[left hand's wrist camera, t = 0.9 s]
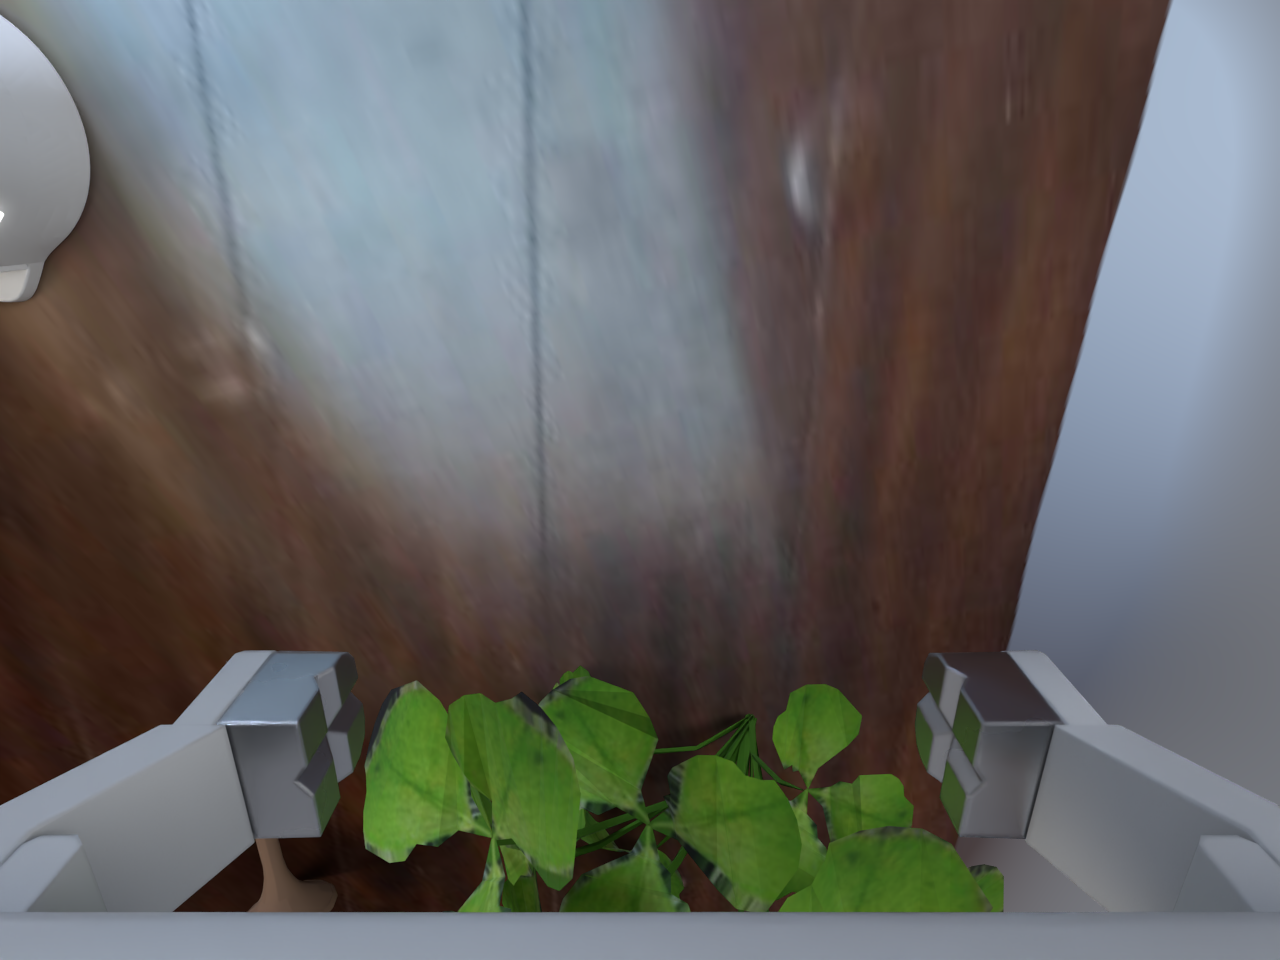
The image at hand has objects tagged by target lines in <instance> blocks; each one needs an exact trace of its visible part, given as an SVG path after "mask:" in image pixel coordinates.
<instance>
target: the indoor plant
mask: <svg viewBox="0 0 1280 960" xmlns="http://www.w3.org/2000/svg"><path fill="white" fill-rule="evenodd" d="M752 715H753V714H751V715H750V714H748V715H746V716H745V718H744V719H742V720H741V721H739V722H737V723H735V724H734V725H732V726H730V727H728V728H727V729H725V730H723V731H721V732H720V733H718V734H716V735H715V736H713V737H711V738H709V739H708V740H706V741H704V742H702V743H701V744H699V745H697V746H688V747H676V748H664V749H655V748H656V745H657V742H658V737H657V735H656V732H655V730H654V727H653V725H652V722H651V720H650V718H649V716H648V715H647V713H646V711H645V710H644V708H643V707H642V705H641V704H640V702H639V701H638V699H637V698H636V696H635V695H634V693H633V692H630V691H628V690H625V689H622V688H619V687H617V686H614V685H611V684H609V683H606V682H603V681H600V680H598V679H595V678H592V677H591V676H590V674H589V672H588V671H587V670H586V669H584V668H583V667H582V666H579V667H578V668H577V669H576V670H575V671H574V672H573V673H572V672H570V671H567V672H566V673H564V674H563V676H562V677H561V679H560V685H559V684H558V683H557V682H556V684H555V686H554V688H553V689H552V691H551V692H550V693H549V694H548V695H547V696H546V697H545V698H544V699H543V700H542V701H541V702H540V703H539V705H537V704H536V703H535V702H534V701H532V700H531V699H530V698H529V697H527V696H526V695H525V694H524V693H523V692H521V693H519V694H518V695H516V696H515V697H514V698H512V699H509V700H505V701H501V702H497V703H495V702H493V701H492V700H490V699H488V698H487V697H485V696H484V695H482V694H481V693H478V694H471V695H464V696H462V697H461V698H459V699H458V700H456V701H455V702H453V703H452V704H450V705H449V710H448V714H447V712H446V711H445V709H444V707H443V706H442V704H441V702H440V701H439V700H438V699H437V698H436V697H435V696H434V695H432V694H431V693H430V692H429V691H428V690H427V689H426V688H425V687H424V686H423V685H421V684H420V683H419V682H418V681H414V682H412V683H409V684H406V685H403V686H401V687H398V688H395V689H392V690H391V691H390V693H389V694H388V696H387V698H386V699H385V701H384V702H383V704H382V706H381V709H380V712H379V714H378V717H377V720H376V722H375V725H374V729H373V732H372V736H371V739H370V743H369V747H368V752H367V757H366V762H365V771H366V787H367V793H366V799H365V805H364V811H363V832H364V840H365V847H366V849H367V850H369V851H370V852H372V853H374V854H375V855H377V856H379V857H380V858H382V859H384V860H386V861H387V862H389V863H392V862H400V861H405V860H406V858H407V857H408V855H409V854H410V853H411V851H412V850H413V848H414V847H415V845H416V844H422V845H429V846H436V847H438V846H439V845H441V844H442V843H443V842H444V841H446V840H447V839H448V838H449V837H451V836H452V835H453V834H454V833H456V832H457V831H458V830H460V831H464V832H469V833H473V834H477V835H481V836H486V837H490V838H491V837H492V838H491V843H490V848H489V852H488V857H487V862H486V866H485V871H484V876H483V880H482V882H481V883H480V885H479V886H478V887H477V888H476V890H475V891H474V892H473V893H472V895H471V896H470V897H469V898H468V900H467V901H466V902H465V903H464V905H463V906H462V907H461V908H460V910H459V911H458V912H542V910H541V905H540V900H539V895H538V887H537V878H536V871H537V872H538V873H539V875H540V876H541V877H542V879H543V880H544V882H545V883H546V885H547V886H548V887H551V888H553V889H556V890H559V891H560V890H561V889H562V888H563V887H564V886H565V885H566V884H567V883H568V882H569V881H570V880H571V879H572V878H573V868H574V858H575V857H577V856H580V855H583V854H586V853H589V852H592V851H594V850H597V849H600V848H602V849H607V850H612V851H617V852H622V851H625V852H629V854H627V855H625V856H622V857H620V858H618V859H616V860H613V861H611V862H609V863H607V864H604V865H602V866H600V867H598V868H595V869H593V870H591V871H589V872H586V873H584V874H582V875H581V876H580V878H579V879H578V880H577V881H576V883H575V884H574V885H573V887H572V888H571V889H570V891H569V892H568V893H567V894H566V896H565V897H564V898H563V900H562V904H561V907H560V911H559V912H690V909H689V906H688V904H687V903H685V902H683V901H682V900H680V897H679V894H680V892H681V891H682V890H683V889H684V886H683V882H682V879H681V875H680V874H679V872H678V870H677V868H678V867H679V865H680V864H681V863H682V861H683V859H684V857H685V856H686V854H687V852H688V854H689V855H690V856H691V857H692V859H693V860H694V861H695V862H696V864H697V865H698V866H699V867H700V869H701V870H702V871H703V872H704V874H705V875H706V876H707V877H708V879H709V880H710V881H711V882H712V884H713V885H714V886H715V887H716V889H717V890H718V891H719V892H720V893H721V894H722V895H723V896H724V897H725V898H726V899H727V900H728V901H729V902H730V903H731V904H732V905H733V906H734V907H735V908H736V909H738V912H744V910H745V911H750V912H769V910H768V909H769V908H770V906H771V905H772V904H773V902H774V901H775V900H778V899H780V898H782V897H783V896H785V895H787V894H789V893H791V892H797V893H796V894H794V895H792V896H790V897H789V898H787V900H786V901H785V903H784V904H783V906H782V907H781V909H780V910H779V912H1003V888H1004V876H1003V875H1002V874H1001V872H1000V871H999V870H998V869H997V867H994V866H989V865H985V864H984V865H977V866H972V867H969V868H967V867H966V866H965V864H964V863H963V861H962V860H961V858H960V857H959V855H958V854H957V852H956V850H955V849H954V847H953V846H952V844H951V843H949V842H947V841H945V840H943V839H941V838H939V837H937V836H935V835H933V834H931V833H930V832H928V831H926V830H924V829H919V828H911V826H912V818H913V807H914V806H913V805H912V804H911V803H910V802H909V801H908V800H907V799H906V798H905V797H904V786H903V785H902V783H901V782H900V780H899V779H898V778H896V777H895V776H893V775H892V774H882V775H860V776H859V777H858V778H857V779H856V780H855V781H854V782H853V783H852V784H850V783H845V782H840V781H839V782H838V783H836V784H835V785H833V786H831V787H825V788H814V789H808V788H809V786H810V784H811V782H812V780H813V778H814V775H815V773H816V771H817V769H818V768H819V767H820V766H822V765H823V764H824V763H825V762H827V761H828V760H829V759H831V758H832V757H833V756H835V755H836V754H837V753H839V752H840V751H841V750H842V749H844V748H845V747H846V746H848V745H849V743H850V742H851V741H852V740H853V739H854V738H855V737H856V736H857V735H858V734H859V729H860V723H861V718H862V716H861V714H860V713H859V712H858V711H857V710H856V709H855V708H854V707H853V706H852V704H851V703H850V702H849V701H848V700H847V699H846V698H845V697H844V695H843V694H842V693H841V692H840V691H839V690H838V689H836V688H833V687H831V686H828V685H826V684H814V685H805V686H803V687H801V688H799V689H797V690H795V691H793V692H791V693H790V696H789V700H788V705H787V709H786V711H785V712H783V713H782V714H781V715H779V716H778V718H777V720H776V722H775V725H774V727H773V739H772V740H773V742H774V745H775V747H776V750H777V752H778V755H779V757H780V760H781V762H782V765H783V767H784V769H786V768H788V767H790V766H791V765H792V768H793V771H798V770H799V772H800V774H801V776H802V778H803V780H804V782H805V784H806V786H807V789H806V790H805V791H804V790H803V792H802V793H801V794H799V795H798V796H797V797H796V798H794V799H793V800H792V801H788V799H787V797H786V796H785V794H784V793H783V792H782V790H781V789H780V787H779V786H778V784H777V783H776V782H775V780H776V781H777V782H778V783H779V784H781V785H784V786H788V787H791V788H795V789H799V790H802V789H800V788H798V787H796V786H794V785H792V784H790V783H788V782H786V781H783V780H781V779H780V778H779V777H778V776H777V775H776V774H775V773H774V772H773V771H772V770H771V769H770V768H769V767H768V766H767V765H766V764H765V763H764V762H763V761H762V760H761V759H760V758H759V754H758V748H757V742H756V732H755V725H756V720H757V718H755V717H754V715H753V716H752ZM738 727H739V728H738ZM736 728H738V729H737V730H736V732H735V733H734V734H733V736H732V737H731V738H730V739H729V740H728V742H727V743H726V744H725V745H724V746H723V747H722V748H721V749H720V750H719V752H718V753H717V754H716V755H697V756H695V757H693V758H691V759H689V760H687V761H685V762H683V763H681V764H679V765H677V766H675V767H673V768H672V769H671V771H670V772H669V774H668V776H667V777H668V782H669V788H670V793H671V794H669V795H667V796H664V799H665V801H663V802H660V803H657V804H654V805H651V806H648V807H645V803H644V800H643V796H642V793H641V788H642V785H643V783H644V780H645V777H646V774H647V771H648V768H649V765H650V762H651V759H652V756H653V754H660V753H671V752H682V751H693V750H698V749H700V748H702V747H704V746H706V745H708V744H709V743H711V742H713V741H715V740H716V739H718V738H720V737H722V736H724V735H725V734H727V733H729V732H731V731H733V730H734V729H736ZM749 760H750V777H749V776H748V771H749ZM736 761H737V764H736ZM761 767H762V768H763V769H764V770H765V771H766V772H767V773H768V774H769V775H770V776H771V777H772V778H773V779H774V780H763V778H762V772H761ZM753 770H754V778H753ZM758 771H759V772H758ZM808 792H809V793H810V794H811V795H812V796H813V797H814V798H815V799H816V800H817V801H818V802H819V803H820V804H821V805H822V806H823V810H824V814H825V819H826V823H827V828H828V832H829V837H830V841H831V842H830V843H829V846H828V850H826V847H825V846H824V845H823V844H822V843H821V841H820V840H819V839H818V838H817V825H816V824H815V823H814V822H813V821H812V819H811V818H810V817H809V816H808V815H807V800H808ZM490 800H491V801H492V802H491V801H490ZM615 807H618V808H619V809H621V810H623V811H624V812H626V813H627V814H624V815H621V816H618V817H615V818H612V819H609V820H606V821H603V822H600V823H599V822H597V821H595V820H594V819H593V817H592V816H591V815H590V814H589V812H588V811H590V812H592V813H594V814H597V815H599V814H602V813H604V812H606V811H608V810H610V809H613V808H615ZM667 808H668V809H667ZM666 809H667V810H666ZM586 810H587V811H586ZM664 810H665V811H664ZM662 811H664V812H663V813H661V812H662ZM648 813H649V814H648ZM659 813H661V814H660V815H659V816H657V817H656V818H655V819H654V820H652V821H651V822H650V821H649V819H651V818H652V817H654V816H656V815H657V814H659ZM635 818H636V819H638V820H636V821H634V822H633V823H631V824H629V825H627V826H625V827H624V828H622V829H620V830H618V831H616V832H615V833H613V834H611V835H609V834H608V833H607V831H606V830H605V829H607V828H610V827H613V826H615V825H618V824H621V823H624V822H626V821H629V820H632V819H635ZM642 823H645V824H647V825H646V827H645V828H644V830H643V832H642V834H641V835H640V837H639V839H638V841H637V842H636V844H635V846H634V848H633V849H632V850H631V851H629V850H625V849H619V848H618V847H617V845H616V844H615V843H614V840H616V839H617V838H619V837H621V836H622V835H624V834H626V833H627V832H629V831H631V830H632V829H634V828H636V827H637V826H639V825H641V824H642ZM653 829H654V830H656V831H658V832H661V833H663V834H665V835H667V836H666V837H665V838H664V839H663V840H662V841H661V842H660V843H659V844H658V845H657V846H656V841H655V837H654V833H653ZM671 837H672V838H674V839H676V840H678V841H679V843H680V844H681V845H682V847H681V849H680V850H679V852H678V854H677V855H676V857H675V859H674V860H673V861H671V860H670V859H669V858H668V857H667V856H666V855H665V854H664V853H662V852H661V851H659V850H658V849H657V848H658V847H660V846H661V845H662V844H663V843H664V842H666V841H667V840H668V839H669V838H671ZM580 838H581V839H582V840H584V841H585V842H587V843H588V844H589V845H585V846H582V847H579V848H576V842H577V841H578V840H579V839H580ZM496 840H497V841H496ZM498 846H500V849H501V852H502V854H503V857H504V862H505V866H506V871H507V876H508V880H507V881H505V874H504V869H503V865H502V861H501V857H500V853H499V849H498ZM575 848H576V849H575ZM533 868H534V869H533ZM532 872H533V877H531V876H532ZM504 881H505V882H504ZM502 891H503V898H502V904H503V906H504V907H502V906H499V904H500V900H501V895H502ZM443 912H453V911H443Z"/></svg>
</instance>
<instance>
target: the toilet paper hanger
mask: <svg viewBox="0 0 1280 960" xmlns="http://www.w3.org/2000/svg"><path fill="white" fill-rule="evenodd" d="M256 843H257V847H258V851H259V854H260V858H261V862H262V866H263V872H264V884H263V891H262V895H261V898H260V900H259V901H258V902H257V903H256V904H254V905H253V906H252V907H251V908H250V909H249V910H248V911H247V912H330V910H331V909H332V908H333V906H334V904H335V901H336V898H337V892H336V890H335V887H334V885H333V884H330V883H328V882H326V881H324V880H305V881H301V880H298V879H297V878H296V877H295V876H293V874H292V873H291V872H290V870H289V869H288V868H287V866H286V863H285V861H284V859H283V855H282V852H281V848H280V844H279V840H278V838H264V839H256Z"/></svg>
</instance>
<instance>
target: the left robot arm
mask: <svg viewBox="0 0 1280 960" xmlns="http://www.w3.org/2000/svg"><path fill="white" fill-rule="evenodd" d="M89 185H90V155H89V148H88V142H87V138H86V134H85V130H84V126H83V123H82V120H81V117H80V115H79V112H78V110H77V107H76V105H75V103H74V101H73V99H72V96H71V94H70V93H69V91H68V89H67V87H66V85H65V84H64V82H63V80H62V79H61V77H60V76H59V74H58V73H57V71H56V70H55V68H54V67H53V66H52V64H51V63H50V62H49V60H48V59H47V58H46V57H45V55H44V54H43V53H42V52H41V51H40V50H39V49H38V47H37V46H36V45H35V44H34V43H33V42H32V41H31V40H30V39H29V38H28V37H27V36H26V35H25V34H23V33H22V32H21V31H20V30H19V29H18V28H17V27H15V26H14V25H13V24H12V23H11V22H9V21H8V20H6V19H5V18H4V17H2V16H1V15H0V301H1V302H21V301H26V300H28V299H30V298H31V297H32V296H33V294H34V293H35V291H36V289H37V286H38V284H39V281H40V277H41V274H42V270H43V266H44V262H45V260H46V259H47V257H48V256H49V255H50V253H51V252H52V251H53V250H54V249H55V248H56V247H57V246H58V245H59V244H60V243H61V242H62V241H63V240H64V239H65V238H66V237H67V236H68V235H69V234H70V233H71V231H72V230H73V229H74V227H75V226H76V224H77V222H78V220H79V219H80V216H81V214H82V212H83V210H84V207H85V204H86V200H87V196H88V191H89ZM357 679H358V675H357V670H356V665H355V660H354V657H352V656H351V655H350V654H349V653H348V652H317V651H278V652H277V651H242V652H239V653H236V654H234V655H233V656H232V658H231V659H230V660H229V661H228V662H227V663H226V664H225V666H224V667H223V668H222V669H221V670H220V671H219V672H218V674H217V675H216V676H215V677H214V678H213V679H212V680H211V682H210V683H209V684H208V685H207V686H206V687H205V688H204V689H203V691H202V692H201V693H200V694H199V695H198V696H197V697H196V699H195V700H194V701H193V702H192V703H191V704H190V705H189V707H188V708H187V709H186V710H185V711H184V712H183V713H182V714H181V716H180V717H179V718H178V719H177V720H176V721H175V722H174V724H173V725H160V726H158V727H156V728H154V729H152V730H150V731H148V732H146V733H144V734H142V735H140V736H138V737H136V738H134V739H132V740H130V741H128V742H126V743H124V744H122V745H120V746H118V747H116V748H114V749H112V750H110V751H108V752H106V753H104V754H102V755H100V756H98V757H96V758H94V759H92V760H90V761H88V762H86V763H84V764H82V765H80V766H78V767H76V768H74V769H72V770H70V771H68V772H66V773H64V774H62V775H60V776H58V777H56V778H54V779H52V780H50V781H48V782H46V783H44V784H42V785H40V786H38V787H36V788H34V789H32V790H30V791H29V792H27V793H25V794H23V795H21V796H19V797H17V798H15V799H13V800H11V801H9V802H7V803H5V804H3V805H1V806H0V960H1280V806H1279V805H1277V804H1275V803H1273V802H1271V801H1269V800H1267V799H1265V798H1263V797H1261V796H1259V795H1257V794H1255V793H1253V792H1251V791H1249V790H1247V789H1245V788H1243V787H1241V786H1239V785H1237V784H1235V783H1233V782H1231V781H1229V780H1227V779H1225V778H1223V777H1221V776H1219V775H1217V774H1216V773H1214V772H1212V771H1209V770H1208V769H1206V768H1204V767H1202V766H1200V765H1198V764H1196V763H1194V762H1192V761H1190V760H1188V759H1186V758H1184V757H1182V756H1180V755H1178V754H1176V753H1174V752H1172V751H1170V750H1168V749H1166V748H1164V747H1162V746H1160V745H1158V744H1156V743H1154V742H1152V741H1150V740H1148V739H1146V738H1144V737H1142V736H1140V735H1138V734H1136V733H1134V732H1132V731H1130V730H1128V729H1126V728H1124V727H1122V726H1120V725H1107V724H1106V722H1105V721H1104V720H1103V719H1102V718H1101V717H1100V716H1099V715H1098V713H1097V712H1096V711H1095V710H1094V709H1093V708H1092V707H1091V705H1090V704H1089V703H1088V702H1087V701H1086V700H1085V699H1084V697H1083V696H1082V695H1081V694H1080V693H1079V692H1078V691H1077V689H1076V688H1075V687H1074V686H1073V685H1072V684H1071V683H1070V682H1069V680H1068V679H1067V678H1066V677H1065V676H1064V675H1063V674H1062V672H1061V671H1060V670H1059V669H1058V668H1057V667H1056V666H1055V664H1054V663H1053V662H1052V661H1051V660H1050V659H1049V658H1048V657H1047V655H1046V654H1044V653H1042V652H1040V651H1038V650H1024V651H1001V652H968V653H929V655H928V657H927V659H926V661H925V663H924V669H923V674H922V679H923V681H924V682H925V684H926V686H927V688H928V689H929V691H930V692H929V693H928V694H927V695H926V696H925V697H924V698H923V699H922V700H921V701H920V702H919V703H918V704H917V711H916V719H915V731H916V743H917V747H918V750H919V754H920V757H921V760H922V762H923V764H924V766H925V768H926V770H927V772H928V773H929V774H930V775H932V776H933V777H935V778H936V779H938V780H939V781H940V782H942V787H941V792H940V799H941V801H942V803H943V805H944V807H945V809H946V811H947V813H948V815H949V817H950V819H951V821H952V823H953V825H954V827H955V829H956V831H957V833H958V835H959V837H981V838H1016V839H1026V840H1025V842H1026V843H1027V844H1028V845H1029V846H1031V847H1032V848H1033V849H1034V850H1035V851H1037V852H1038V853H1039V854H1040V855H1041V856H1043V857H1044V858H1045V859H1046V860H1047V861H1048V862H1050V863H1051V864H1052V865H1053V866H1054V867H1056V868H1057V869H1058V870H1059V871H1060V872H1061V873H1063V874H1064V875H1065V876H1066V877H1067V878H1069V879H1070V880H1071V881H1072V882H1073V883H1075V884H1076V885H1077V886H1078V887H1079V888H1080V889H1082V890H1083V891H1084V892H1085V893H1086V894H1088V895H1089V896H1090V897H1091V898H1092V899H1093V900H1095V901H1096V902H1097V903H1098V904H1099V905H1101V906H1102V907H1103V908H1104V909H1105V910H1106V911H1108V912H173V911H174V910H175V909H176V908H177V907H178V906H180V905H181V904H182V903H183V902H184V901H186V900H187V899H188V898H189V897H190V896H192V895H193V894H194V893H195V892H196V891H197V890H199V889H200V888H201V887H202V886H203V885H205V884H206V883H207V882H208V881H209V880H211V879H212V878H213V877H214V876H215V875H216V874H218V873H219V872H220V871H221V870H222V869H224V868H225V867H226V866H227V865H228V864H230V863H231V862H232V861H233V860H234V859H235V858H237V857H238V856H239V855H240V854H241V853H243V852H244V851H245V850H246V849H247V848H249V847H250V846H251V845H252V844H253V843H254V842H255V841H254V839H264V838H298V837H321V835H322V833H323V831H324V829H325V827H326V825H327V823H328V821H329V819H330V817H331V815H332V813H333V811H334V809H335V807H336V805H337V803H338V801H339V799H340V792H339V787H338V782H340V781H341V780H342V779H344V778H345V777H347V776H348V775H350V774H351V773H352V772H353V771H354V768H355V766H356V764H357V762H358V760H359V758H360V754H361V750H362V745H363V741H364V736H365V717H364V710H363V704H362V703H361V702H360V701H359V700H358V699H357V698H356V697H355V696H354V695H353V694H352V693H351V692H350V691H351V689H352V688H353V686H354V684H355V682H356V681H357Z"/></svg>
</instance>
